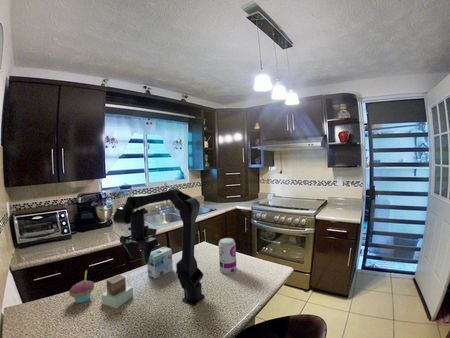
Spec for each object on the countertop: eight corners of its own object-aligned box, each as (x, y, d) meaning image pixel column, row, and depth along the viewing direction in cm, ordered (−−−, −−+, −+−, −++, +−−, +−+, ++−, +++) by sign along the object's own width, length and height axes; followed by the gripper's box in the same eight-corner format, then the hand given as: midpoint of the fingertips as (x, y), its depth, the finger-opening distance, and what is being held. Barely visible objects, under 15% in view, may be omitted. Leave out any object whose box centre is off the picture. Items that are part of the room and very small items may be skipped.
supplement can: (239, 268, 107) (238, 239, 107) (231, 276, 100) (229, 244, 100) (225, 265, 112) (224, 236, 111) (216, 272, 105) (215, 242, 104)
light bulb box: (155, 279, 101) (154, 257, 100) (147, 275, 105) (145, 253, 104) (173, 269, 109) (172, 248, 109) (165, 266, 113) (164, 246, 113)
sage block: (133, 296, 89) (132, 287, 89) (116, 309, 82) (116, 298, 81) (119, 292, 92) (118, 283, 92) (102, 304, 85) (101, 294, 85)
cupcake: (92, 290, 94) (90, 263, 93) (97, 299, 88) (95, 270, 87) (68, 300, 88) (66, 271, 87) (72, 309, 82) (69, 279, 81)
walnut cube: (125, 289, 87) (125, 277, 87) (113, 296, 83) (112, 283, 83) (119, 285, 90) (118, 274, 90) (107, 292, 86) (106, 279, 86)
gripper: (167, 221, 94) (169, 257, 94) (139, 217, 104) (141, 249, 104) (145, 229, 84) (148, 268, 85) (117, 223, 94) (120, 258, 95)
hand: (139, 260), depth 92 cm, fingers open, 9 cm apart
